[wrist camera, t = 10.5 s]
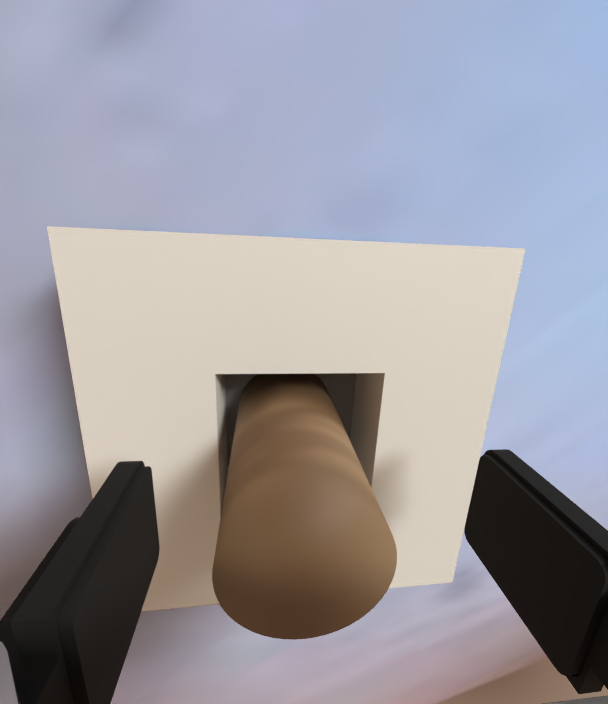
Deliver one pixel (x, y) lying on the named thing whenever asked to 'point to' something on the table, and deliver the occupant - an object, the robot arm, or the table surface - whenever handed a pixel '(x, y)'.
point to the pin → (298, 517)
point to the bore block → (284, 372)
